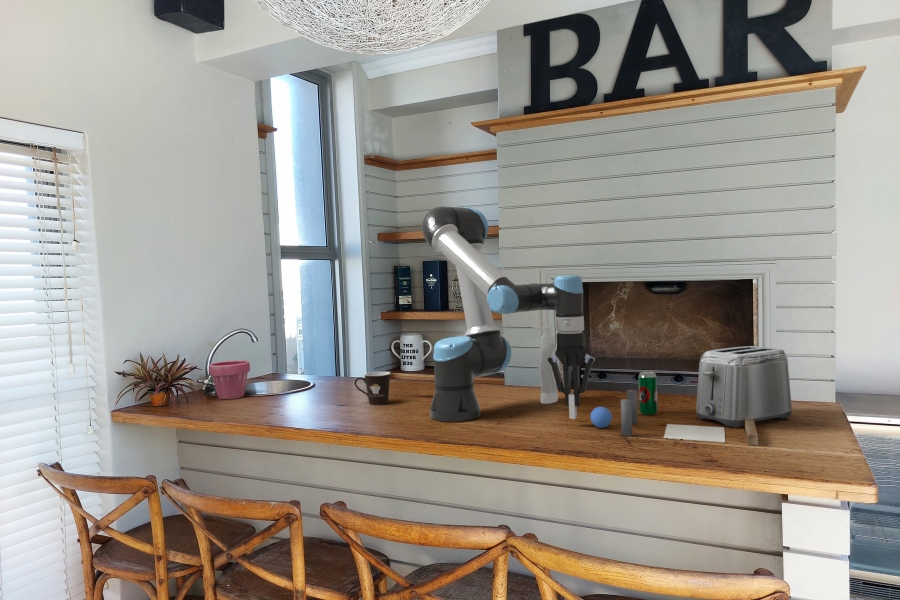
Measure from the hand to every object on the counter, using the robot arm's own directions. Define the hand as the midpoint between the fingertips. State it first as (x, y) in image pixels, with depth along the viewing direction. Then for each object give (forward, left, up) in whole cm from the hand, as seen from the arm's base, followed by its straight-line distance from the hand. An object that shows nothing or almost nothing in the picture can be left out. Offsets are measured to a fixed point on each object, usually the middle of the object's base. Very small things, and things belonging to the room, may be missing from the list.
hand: (573, 417), depth 169 cm
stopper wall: (+44, 0, -2) cm, 44 cm away
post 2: (+15, +7, -2) cm, 16 cm away
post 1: (+15, -6, -2) cm, 16 cm away
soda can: (+18, +19, -3) cm, 26 cm away
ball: (+8, 0, +1) cm, 8 cm away
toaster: (+44, +21, -3) cm, 49 cm away
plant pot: (-129, +9, -3) cm, 129 cm away
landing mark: (+31, 0, -2) cm, 31 cm away
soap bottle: (-15, +29, -2) cm, 33 cm away
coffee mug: (-70, +13, -3) cm, 71 cm away
